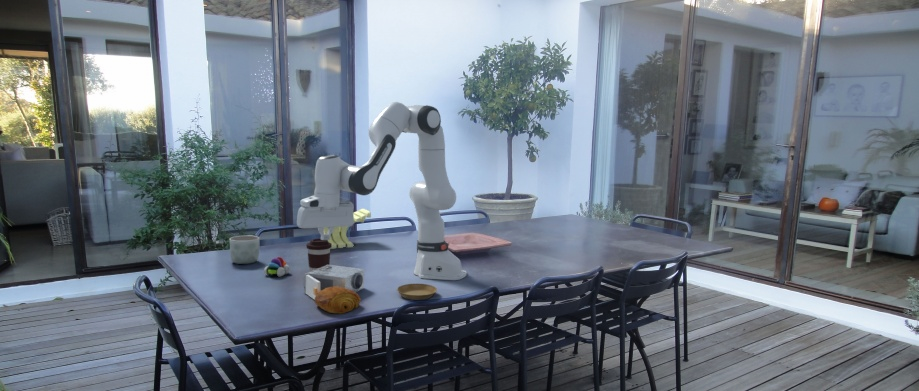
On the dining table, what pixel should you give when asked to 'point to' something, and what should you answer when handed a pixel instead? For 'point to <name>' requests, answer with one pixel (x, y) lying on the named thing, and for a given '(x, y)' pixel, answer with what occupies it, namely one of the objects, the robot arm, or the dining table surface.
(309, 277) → the panel
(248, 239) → the planter
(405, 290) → the plant saucer
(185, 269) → the dining table surface
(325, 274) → the camera housing
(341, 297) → the croissant
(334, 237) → the pale yellow ridged piece
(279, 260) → the rainbow toy
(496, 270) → the dining table surface
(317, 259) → the coffee cup
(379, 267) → the dining table surface
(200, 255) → the dining table surface
